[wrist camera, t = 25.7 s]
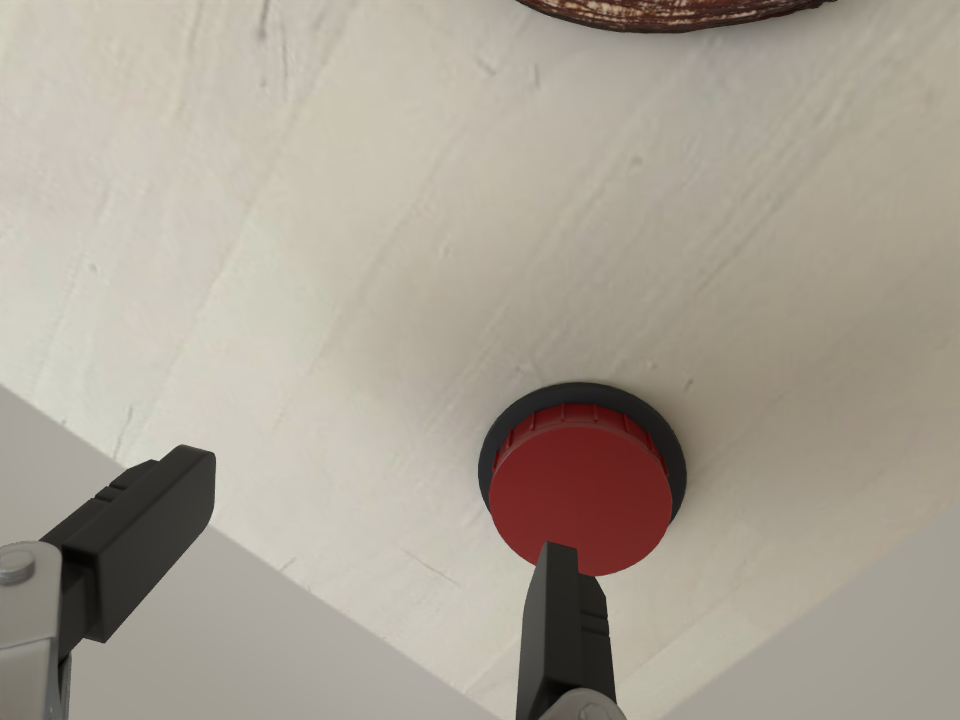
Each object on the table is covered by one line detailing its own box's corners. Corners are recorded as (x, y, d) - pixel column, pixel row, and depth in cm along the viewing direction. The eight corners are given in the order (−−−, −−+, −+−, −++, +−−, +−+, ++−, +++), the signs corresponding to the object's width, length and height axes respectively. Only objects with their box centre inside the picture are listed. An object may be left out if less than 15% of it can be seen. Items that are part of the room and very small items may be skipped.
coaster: (645, 576, 21) (647, 584, 21) (462, 526, 21) (460, 533, 21) (716, 412, 18) (719, 418, 18) (503, 359, 19) (502, 363, 18)
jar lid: (523, 377, 18) (519, 399, 17) (696, 436, 18) (707, 463, 17) (472, 514, 21) (465, 544, 19) (625, 567, 21) (630, 601, 19)
